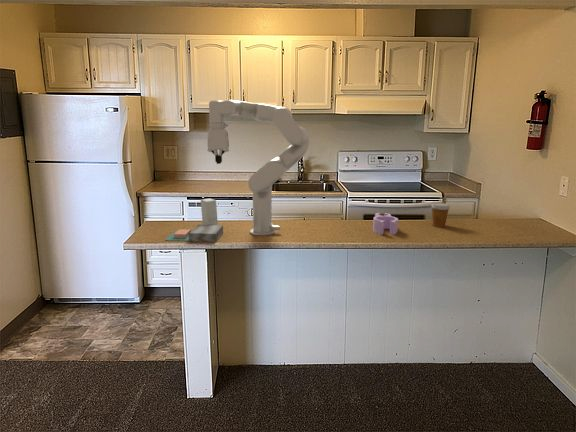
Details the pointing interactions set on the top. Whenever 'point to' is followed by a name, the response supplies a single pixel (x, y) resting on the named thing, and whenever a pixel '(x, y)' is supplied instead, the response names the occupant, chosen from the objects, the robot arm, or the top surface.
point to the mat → (171, 238)
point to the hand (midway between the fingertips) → (218, 163)
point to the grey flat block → (206, 233)
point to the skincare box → (209, 212)
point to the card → (182, 233)
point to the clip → (385, 223)
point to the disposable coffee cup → (439, 214)
